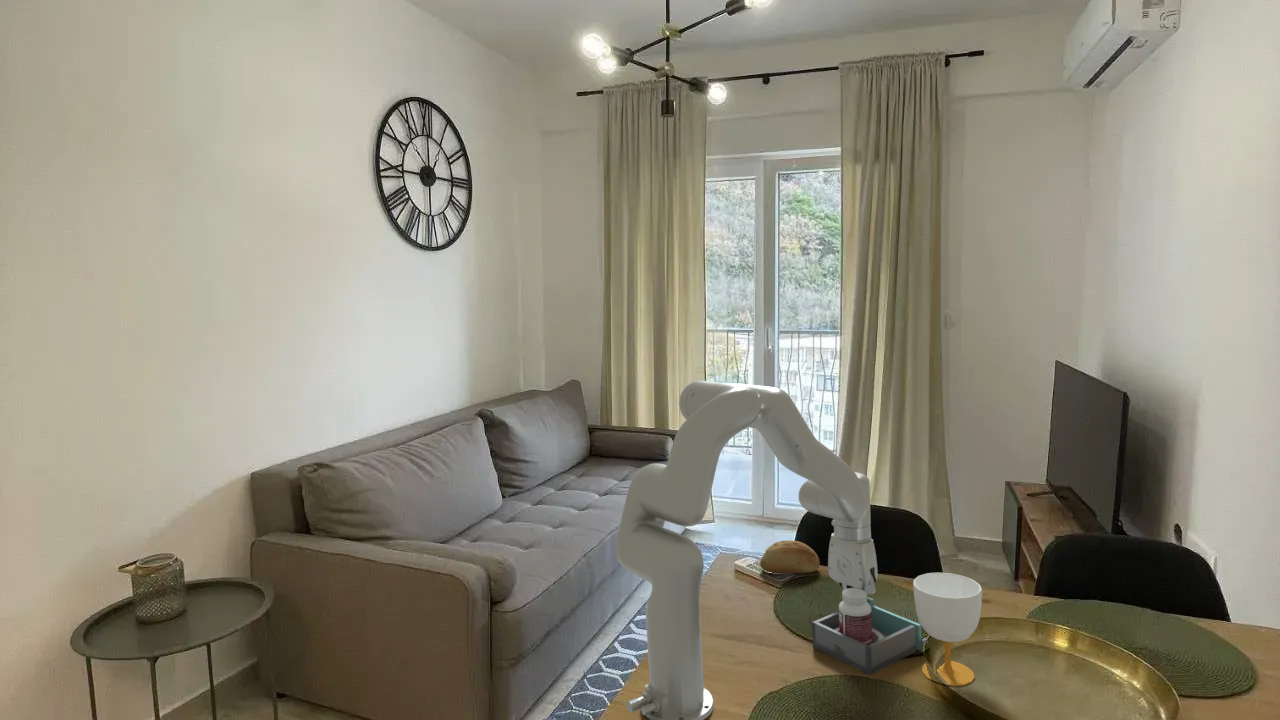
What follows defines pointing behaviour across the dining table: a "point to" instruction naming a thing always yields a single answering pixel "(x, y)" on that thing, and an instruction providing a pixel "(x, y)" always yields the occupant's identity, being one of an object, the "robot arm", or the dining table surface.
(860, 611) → the pill bottle
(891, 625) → the gate
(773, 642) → the dining table surface
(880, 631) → the housing
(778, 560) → the bread roll
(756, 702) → the dining table surface
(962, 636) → the cup
